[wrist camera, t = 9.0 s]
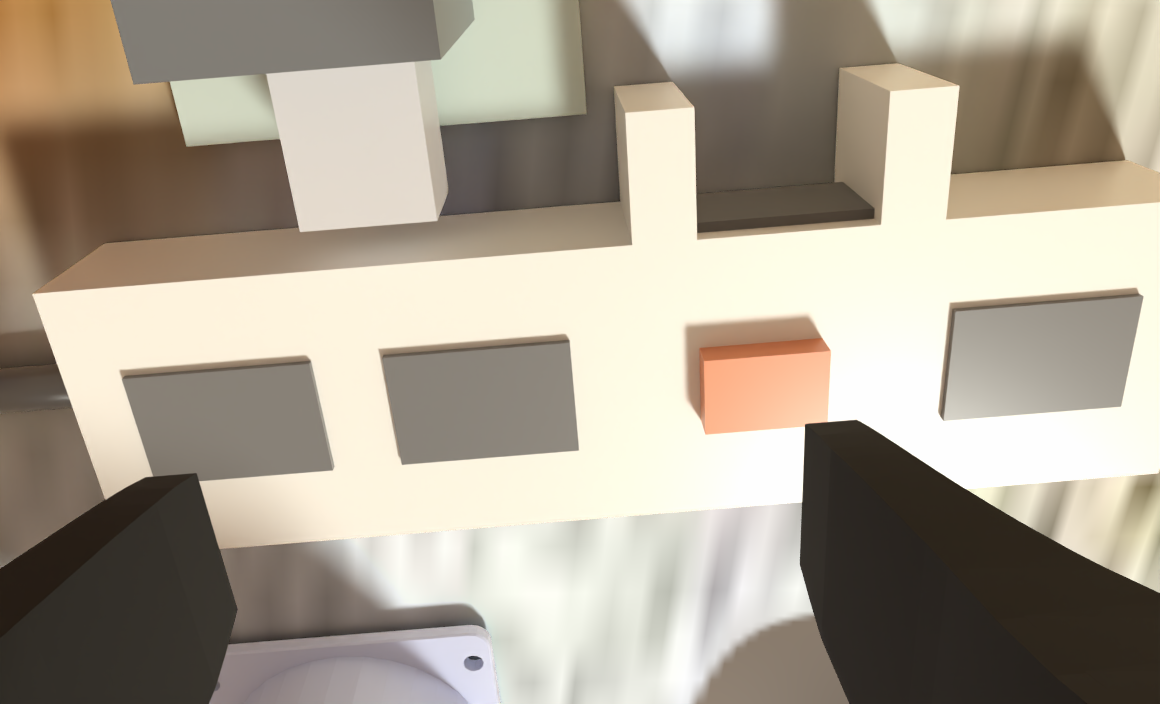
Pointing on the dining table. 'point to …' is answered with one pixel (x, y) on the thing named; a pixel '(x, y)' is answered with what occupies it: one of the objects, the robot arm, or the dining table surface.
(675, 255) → the power strip
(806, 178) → the dining table surface
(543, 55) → the coaster
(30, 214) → the dining table surface
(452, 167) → the dining table surface
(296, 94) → the block
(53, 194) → the dining table surface
